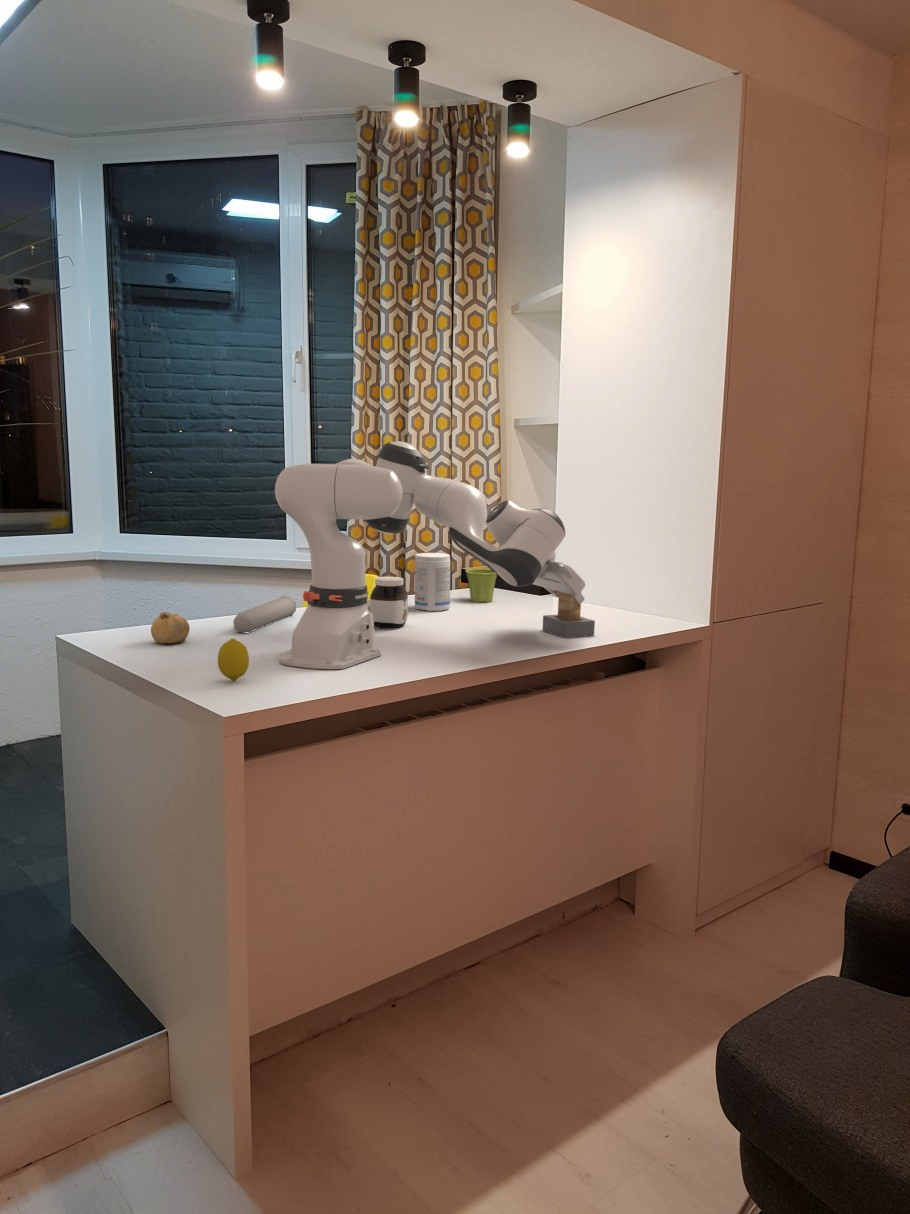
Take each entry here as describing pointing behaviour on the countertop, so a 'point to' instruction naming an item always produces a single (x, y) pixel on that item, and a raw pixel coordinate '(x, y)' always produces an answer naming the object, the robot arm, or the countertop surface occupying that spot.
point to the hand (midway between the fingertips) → (569, 598)
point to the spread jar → (388, 603)
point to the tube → (264, 614)
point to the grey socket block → (568, 626)
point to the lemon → (233, 659)
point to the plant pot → (481, 584)
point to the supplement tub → (432, 581)
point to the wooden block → (568, 607)
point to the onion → (169, 628)
